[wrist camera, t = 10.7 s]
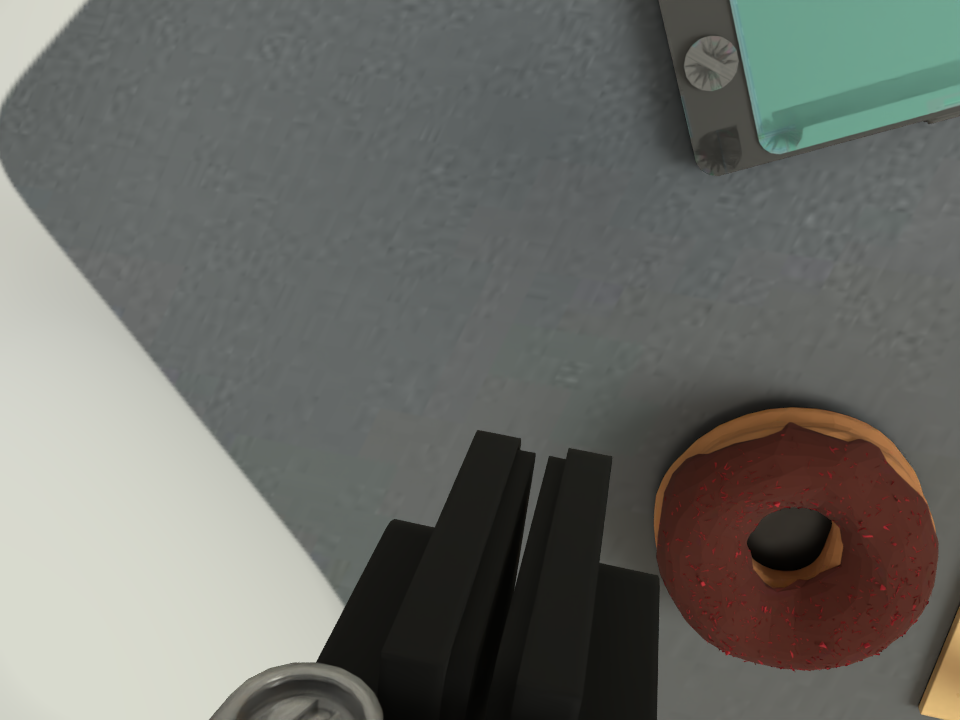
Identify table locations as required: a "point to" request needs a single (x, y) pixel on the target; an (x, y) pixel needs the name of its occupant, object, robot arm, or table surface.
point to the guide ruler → (945, 679)
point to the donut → (842, 563)
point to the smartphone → (808, 73)
